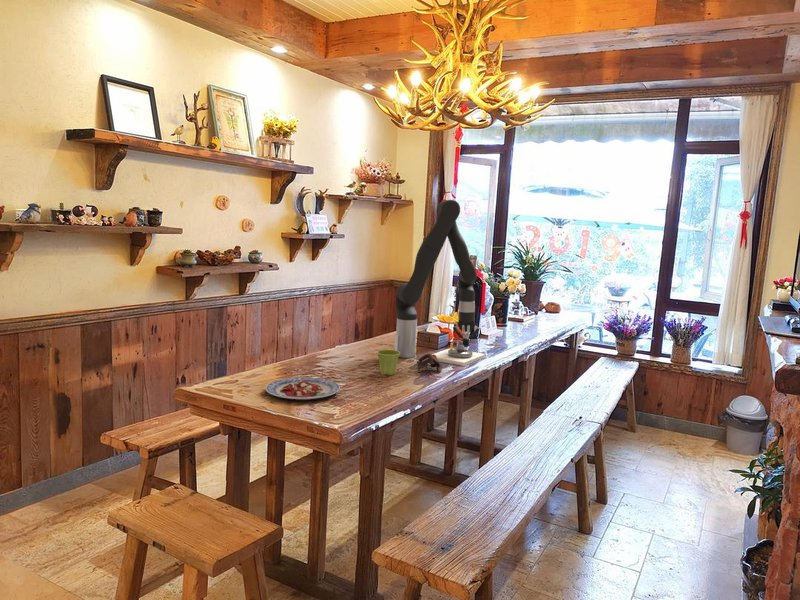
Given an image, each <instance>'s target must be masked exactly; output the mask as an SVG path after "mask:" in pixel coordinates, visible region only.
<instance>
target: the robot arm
mask: <svg viewBox="0 0 800 600" xmlns="http://www.w3.org/2000/svg"><path fill="white" fill-rule="evenodd" d="M460 212H461V205H460V204H459V202H458V201H457V200H454V199H445V200H442V201H441V202H439V203H438V204H437V206H436V215H437V220H436V222H435V224H434V226H433V228H432V229H431V230H430V231H429V232H428V234H427V235H426V236H425V238H424V239H423V241H422V242H421V244H420V247H419V248H418V250H417V253H416V256H415V262H414V267H413V268H414V269H413V271H412V274H411V276H410V277H409V280H408V282H404V283H401V284H399V285H398V287H397V289H396V292H395V312H396V328H395V329H396V331H395V332H396V333H395V334H394V350H395V351H399V352H400V354H399V357H398V358H406V359H407V358H409V359H410V358H414V357H416V355H417V353H416V352H417V350H416V348H417V331H418V330H417V328H418V312H417V310H416V304H417V303H418V302H419V301H420V299H421V297H422V294H423V291H424V288H425V286H426V283H427V280H428V278H429V276H430V274H431V272H432V270H433V268H434V267H435V266H434V265H435V264H436V262H437V260H438V258H439V255H440V253H441V251H442V248H443V247H444V245H445V242H446V239H448V241H449V245H450V248H451V252H452V255H453V258H454V261H455V263H456V265H457V267H458V269H459V273H458V286H459V304H458V321H457V323H456V325H455V326H453V327H452V329H453V331H454V333H455V334H456V335H457V336H458V338H459V339H462V345H464V348H468V347H469V346H470V340H471V339H473V338H474V337H475V336H476V335H477V333H478V332H479V331H480V327H478V326H477V325H476V322H475V321H476V317H475V316H476V315H475V314H476V311H475V310H476V304H475V303H476V302H475V297H476V293H475V289H474V283H475V282H476V280H477V270H476V269H475V266H474V263H473V261H472V260H471V256H470V252H469V248H468V246H467V243H466V241H465V239H464V237H463V236H462V234H461V232H460V230H459V227H458V225H457V219H459V216H460ZM459 330H460V331H461V332H462V333H461V332H460V331H459ZM473 330H474V331H473ZM472 331H473V333H472V334H471V332H472ZM470 334H471V335H470Z"/></svg>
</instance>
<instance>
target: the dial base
mask: <svg viewBox="0 0 800 600" xmlns="http://www.w3.org/2000/svg"><path fill="white" fill-rule="evenodd" d="M451 349H454V343H453V342H450V347H448V348H446V349H444V350H441V351H438V352H435V353H431V354H432V355H433V354H434V355H436V357H437V359H438V361H439V363H445V364H451V365H457V366H461V367H465V366H467V365H470V364H472V363H475V362H477V361H480V360H482V359H484V358H486V353H482V352H475V351H472V352H473V353H472V357H468V358H458V357H452V356H449V355H448V351H449V350H451ZM427 359H428V358H427ZM427 359H426V360H427Z"/></svg>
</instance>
